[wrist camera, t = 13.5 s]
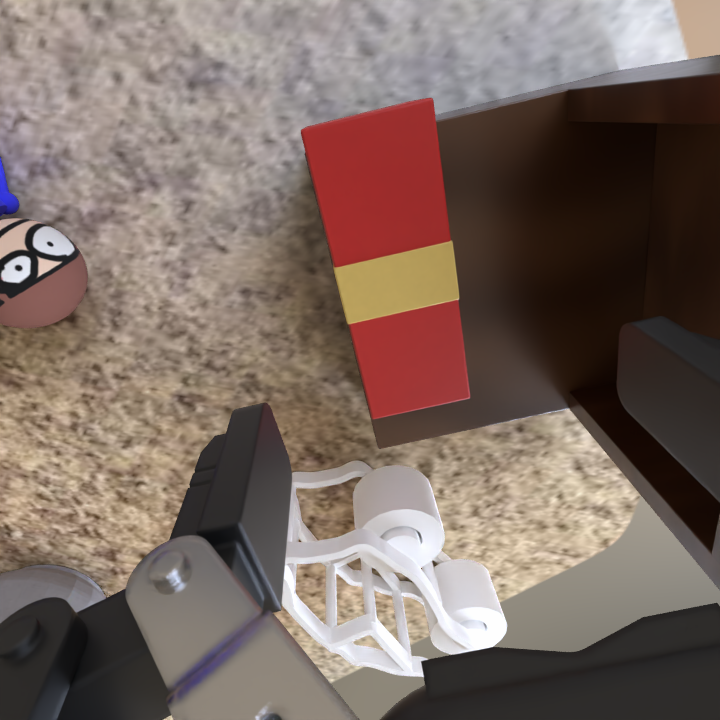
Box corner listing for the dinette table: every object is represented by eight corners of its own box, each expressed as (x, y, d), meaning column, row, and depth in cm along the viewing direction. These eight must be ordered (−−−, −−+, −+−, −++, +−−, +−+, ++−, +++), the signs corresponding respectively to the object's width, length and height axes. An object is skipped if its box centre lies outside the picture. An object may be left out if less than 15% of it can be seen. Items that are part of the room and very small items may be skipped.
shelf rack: (308, 145, 24) (278, 196, 9) (621, 69, 23) (1158, -13, 8) (371, 402, 31) (412, 666, 16) (610, 350, 31) (882, 576, 16)
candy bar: (303, 127, 19) (298, 129, 16) (414, 100, 19) (435, 96, 15) (364, 376, 25) (371, 421, 21) (450, 357, 24) (472, 399, 21)
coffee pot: (63, 656, 42) (-60, 909, 28) (-56, 589, 37) (-271, 855, 24) (252, 553, 37) (211, 795, 24) (145, 461, 32) (19, 700, 19)
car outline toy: (500, 582, 41) (533, 670, 34) (388, 628, 43) (399, 720, 36) (395, 420, 32) (413, 497, 26) (261, 486, 34) (245, 574, 28)
